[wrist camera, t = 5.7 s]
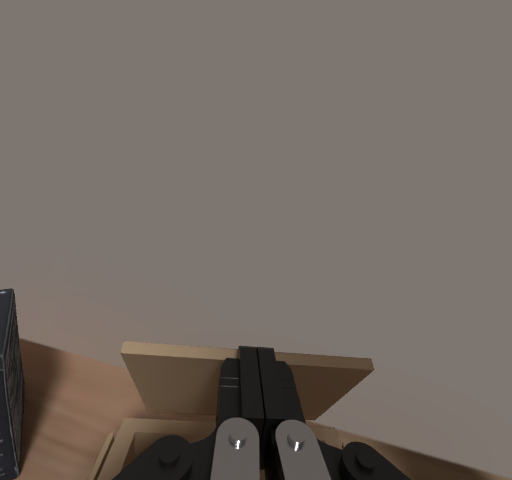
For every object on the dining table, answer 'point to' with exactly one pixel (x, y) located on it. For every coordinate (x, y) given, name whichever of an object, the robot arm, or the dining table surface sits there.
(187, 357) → the flap
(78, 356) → the dining table surface
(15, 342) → the small box
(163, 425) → the carton
